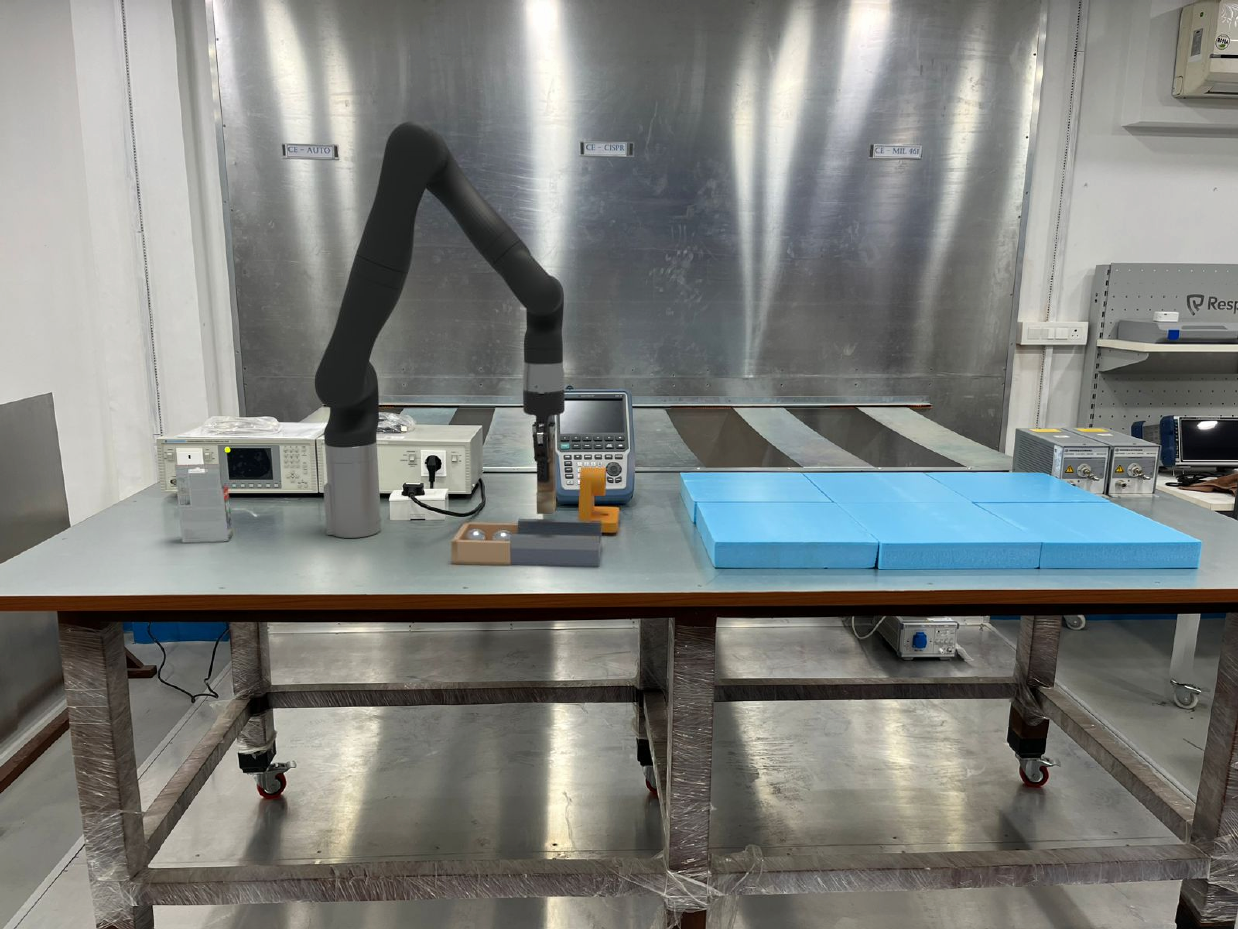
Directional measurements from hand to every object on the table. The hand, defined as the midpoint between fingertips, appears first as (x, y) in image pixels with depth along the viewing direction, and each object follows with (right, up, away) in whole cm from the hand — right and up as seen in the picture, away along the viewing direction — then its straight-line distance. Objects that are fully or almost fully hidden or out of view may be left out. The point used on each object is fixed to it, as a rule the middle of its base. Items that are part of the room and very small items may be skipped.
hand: (544, 478), depth 157 cm
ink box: (-61, -11, -3) cm, 62 cm away
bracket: (+10, -10, +8) cm, 16 cm away
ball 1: (-13, -12, -8) cm, 19 cm away
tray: (-9, -13, -8) cm, 18 cm away
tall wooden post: (0, -6, +1) cm, 6 cm away
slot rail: (+3, -13, -8) cm, 16 cm away
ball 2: (-8, -12, -8) cm, 17 cm away
